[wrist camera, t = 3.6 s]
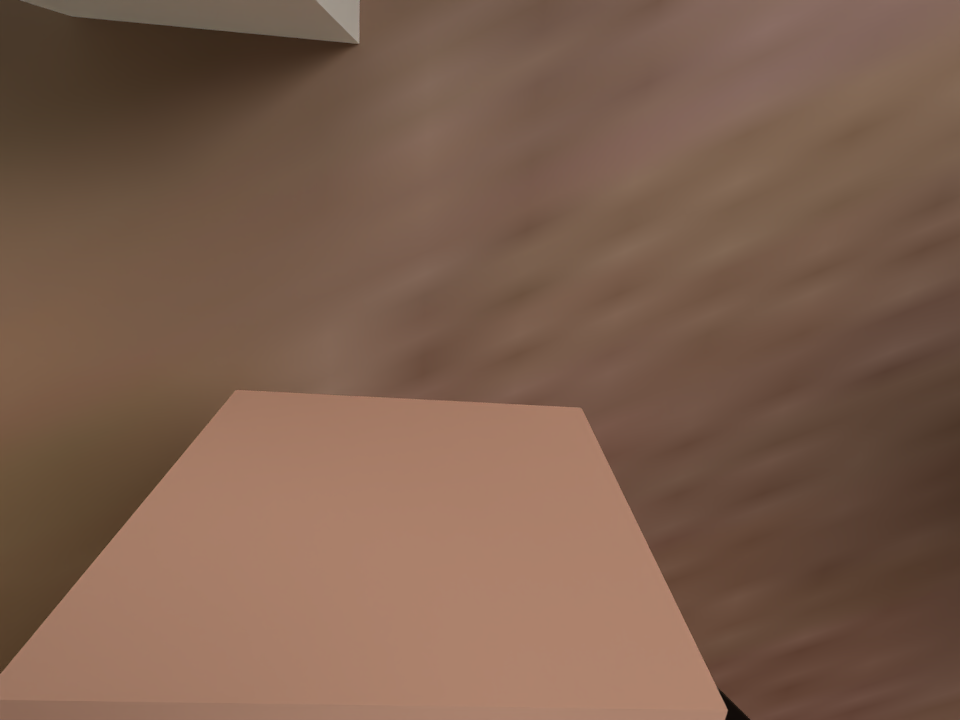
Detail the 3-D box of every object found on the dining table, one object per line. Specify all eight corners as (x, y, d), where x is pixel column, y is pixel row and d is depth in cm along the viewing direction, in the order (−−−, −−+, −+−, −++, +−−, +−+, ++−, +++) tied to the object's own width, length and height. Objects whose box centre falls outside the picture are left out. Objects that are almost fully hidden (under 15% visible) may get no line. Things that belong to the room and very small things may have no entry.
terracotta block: (581, 407, 9) (727, 709, 4) (542, 662, 11) (616, 1075, 6) (236, 389, 9) (-22, 700, 4) (254, 656, 10) (92, 1094, 6)
